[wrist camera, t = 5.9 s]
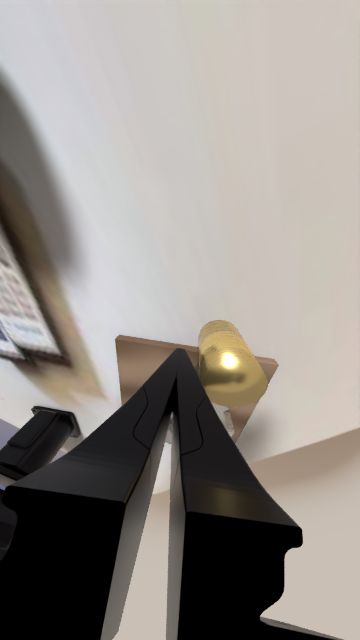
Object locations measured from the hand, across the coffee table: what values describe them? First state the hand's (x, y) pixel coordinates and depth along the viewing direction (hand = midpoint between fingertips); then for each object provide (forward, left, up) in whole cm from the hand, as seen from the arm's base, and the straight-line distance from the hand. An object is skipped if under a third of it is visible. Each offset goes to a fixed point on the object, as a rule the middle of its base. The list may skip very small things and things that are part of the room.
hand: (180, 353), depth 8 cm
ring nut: (-7, -2, -4) cm, 8 cm away
